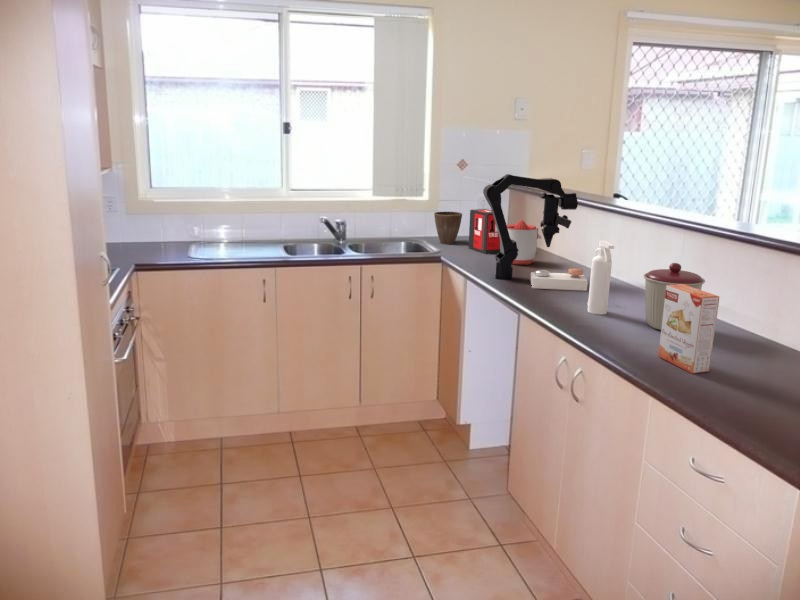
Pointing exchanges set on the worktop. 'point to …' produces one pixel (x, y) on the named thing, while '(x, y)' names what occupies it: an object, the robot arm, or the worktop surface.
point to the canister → (657, 290)
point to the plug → (542, 273)
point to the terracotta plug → (575, 272)
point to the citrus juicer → (524, 241)
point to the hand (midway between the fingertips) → (548, 247)
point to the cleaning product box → (483, 232)
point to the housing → (559, 281)
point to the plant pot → (447, 226)
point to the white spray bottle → (600, 279)
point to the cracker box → (688, 327)
